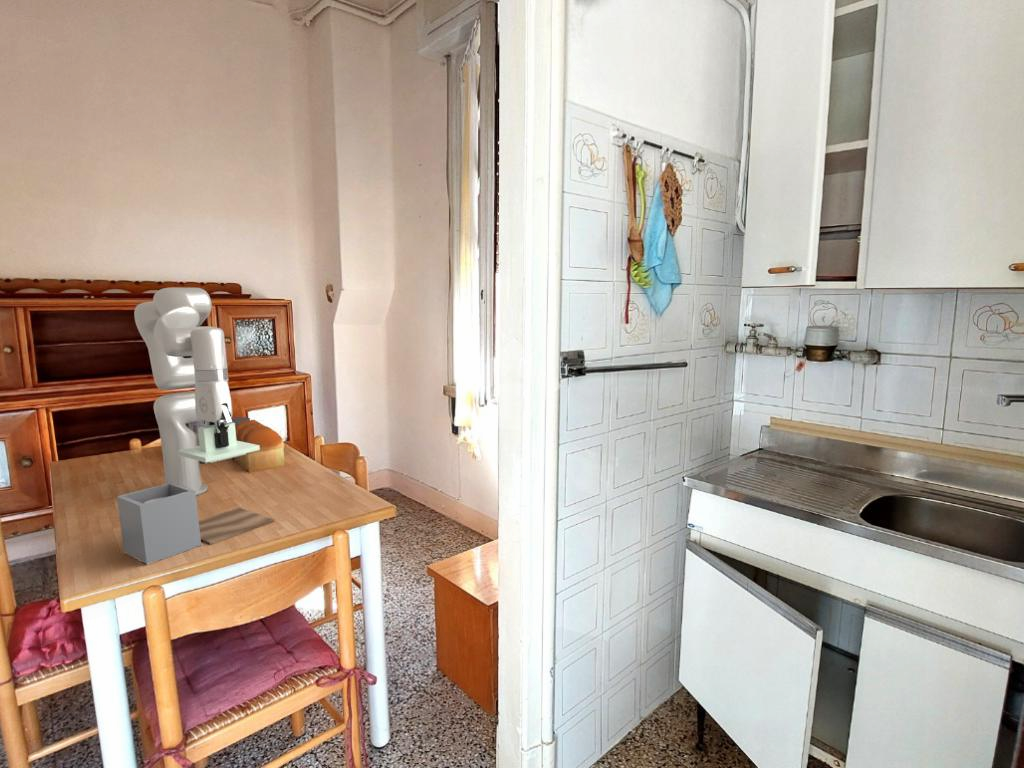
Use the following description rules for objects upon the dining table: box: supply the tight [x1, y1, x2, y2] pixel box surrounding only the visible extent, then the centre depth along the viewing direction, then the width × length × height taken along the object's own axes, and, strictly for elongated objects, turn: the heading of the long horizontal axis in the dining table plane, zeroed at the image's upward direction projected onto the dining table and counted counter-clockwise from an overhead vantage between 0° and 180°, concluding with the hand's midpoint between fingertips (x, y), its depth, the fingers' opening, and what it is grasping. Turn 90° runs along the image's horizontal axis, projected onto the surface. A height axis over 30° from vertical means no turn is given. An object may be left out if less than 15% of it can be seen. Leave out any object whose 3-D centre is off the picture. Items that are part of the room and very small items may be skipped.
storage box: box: [116, 482, 202, 565], centre depth 132 cm, size 12×12×14 cm
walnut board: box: [199, 507, 275, 545], centre depth 146 cm, size 17×17×1 cm
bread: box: [232, 419, 286, 474], centre depth 206 cm, size 25×12×15 cm, turn 40°
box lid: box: [177, 423, 260, 464], centre depth 143 cm, size 14×14×8 cm
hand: (218, 445), depth 143 cm, fingers closed on box lid, 3 cm apart
